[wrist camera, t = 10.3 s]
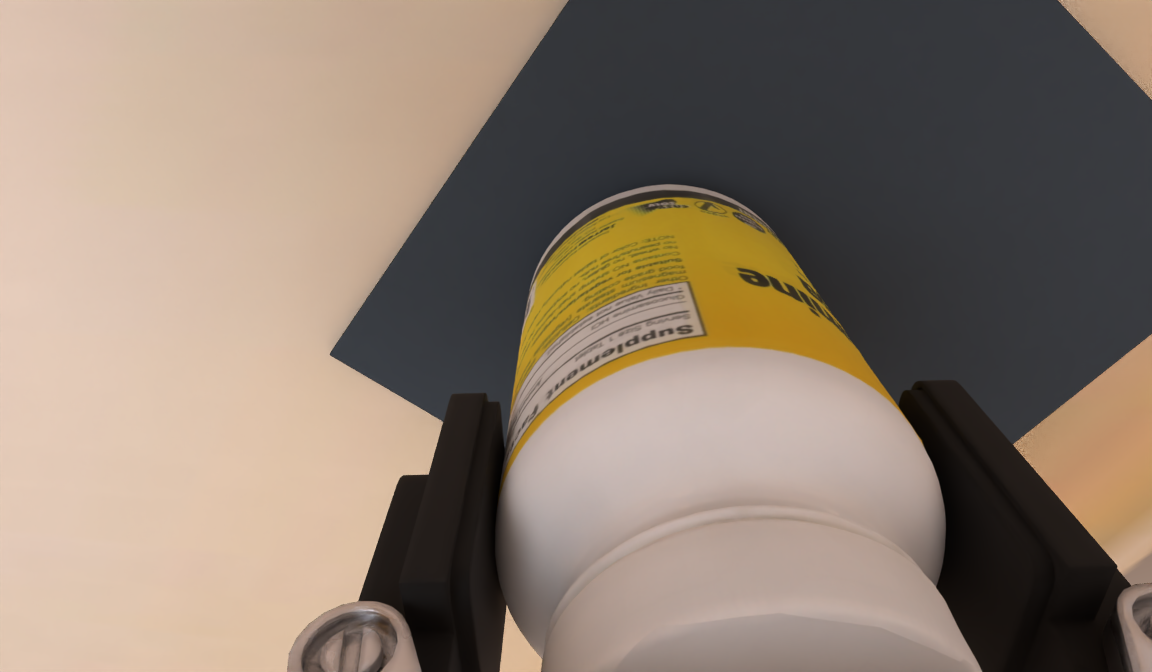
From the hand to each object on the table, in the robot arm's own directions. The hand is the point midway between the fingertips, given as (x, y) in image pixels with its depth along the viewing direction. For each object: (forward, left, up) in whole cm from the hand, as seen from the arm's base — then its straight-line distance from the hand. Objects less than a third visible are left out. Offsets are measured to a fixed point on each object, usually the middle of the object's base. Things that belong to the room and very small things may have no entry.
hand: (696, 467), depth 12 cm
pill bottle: (0, 0, -6) cm, 6 cm away
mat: (-2, +2, -7) cm, 7 cm away
